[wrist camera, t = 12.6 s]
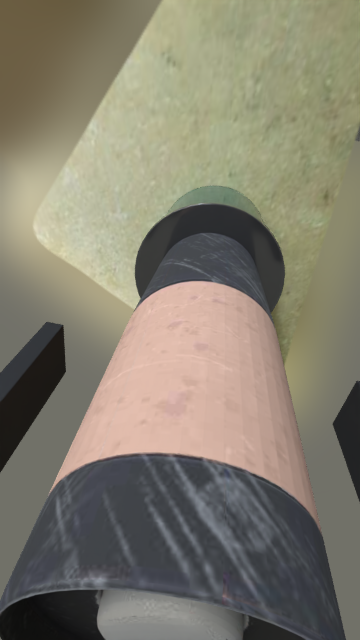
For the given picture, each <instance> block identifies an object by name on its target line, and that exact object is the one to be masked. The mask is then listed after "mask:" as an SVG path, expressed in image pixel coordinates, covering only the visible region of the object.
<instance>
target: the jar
mask: <svg viewBox="0 0 360 640" xmlns="http://www.w3.org/2000/svg"><path fill="white" fill-rule="evenodd" d="M200 233H216V234H221V235H224V236H227V237H230V238H232V239H233V240H235V241H237V242H238V243H240V244H241V245H242V246H243V247H244V248H245V249H246V250H247V251H248V252H249V254H250V255H251V257H252V259H253V260H254V263H255V265H256V268H257V271H258V274H259V277H260V280H261V283H262V286H263V290H264V293H265V296H266V299H267V303H268V306H269V309H270V312H272V311H273V309H274V308H275V306H276V304H277V303H278V300H279V298H280V296H281V293H282V289H283V285H284V278H285V267H284V261H283V256H282V253H281V250H280V247H279V245H278V243H277V241H276V239H275V237H274V235H273V234H272V233H271V231H270V230H269V229H268V227H267V226H266V225H265V224H264V223H263V220H262V218H261V215H260V213H259V211H258V210H257V208H256V207H255V205H254V204H253V203H252V202H251V201H250V200H249V199H248V198H247V197H246V196H244V195H243V194H241V193H240V192H238V191H236V190H233V189H231V188H227V187H223V186H205V187H200V188H197V189H194V190H192V191H190V192H188V193H186V194H185V195H183V196H182V197H181V198H179V199H178V200H177V201H176V202H175V203H174V204H173V206H172V207H171V208H170V210H169V211H168V213H167V215H165V216H164V217H163V218H161V219H160V220H159V221H158V222H157V223H156V224H155V225H154V226H153V227H152V228H151V230H150V231H149V232H148V234H147V235H146V237H145V238H144V240H143V242H142V244H141V246H140V248H139V251H138V254H137V258H136V264H135V280H136V286H137V290H138V293H139V296H140V298H142V296H143V294H144V292H145V290H146V289H147V287H148V285H149V283H150V281H151V280H152V278H153V276H154V274H155V272H156V271H157V269H158V267H159V265H160V263H161V262H162V260H163V258H164V257H165V255H166V254H167V253H168V251H169V250H170V249H171V248H172V247H173V246H174V245H175V244H176V243H178V242H179V241H181V240H182V239H184V238H187V237H189V236H192V235H195V234H200Z"/></svg>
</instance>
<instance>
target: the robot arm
mask: <svg viewBox="0 0 360 640" xmlns="http://www.w3.org/2000/svg"><path fill="white" fill-rule="evenodd" d="M64 348H65V347H64V329H63V325H60V324H55V323H50V322H46V323H45V324H44V325H43V327H42V328H41V329H40V330H39V331H38V332H37V333H36V334H35V335H34V336H33V338H32V339H31V340H30V341H29V342H28V343H27V344H26V345H25V346H24V347H23V349H22V350H21V351H20V352H19V353H18V354H17V355H16V356H15V357H14V358H13V360H12V361H11V362H10V363H9V364H8V365H7V366H6V367H5V368H4V369H3V371H2V372H1V373H0V472H1V471H2V469H3V468H4V466H5V465H6V463H7V461H8V460H9V458H10V457H11V455H12V454H13V452H14V450H15V449H16V448H17V446H18V445H19V443H20V441H21V440H22V438H23V436H24V435H25V434H26V432H27V431H28V429H29V427H30V426H31V425H32V423H33V421H34V420H35V418H36V417H37V415H38V414H39V412H40V411H41V409H42V408H43V406H44V405H45V403H46V402H47V400H48V398H49V397H50V395H51V393H52V392H53V391H54V389H55V388H56V386H57V385H58V383H59V382H60V380H61V378H62V377H63V375H64V374H65V372H66V368H65V367H66V366H65V349H64ZM333 426H334V429H335V432H336V435H337V438H338V440H339V443H340V446H341V449H342V452H343V455H344V458H345V461H346V464H347V467H348V470H349V472H350V475H351V478H352V481H353V484H354V487H355V490H356V493H357V496H358V498H359V501H360V381H356V383H355V385H354V387H353V389H352V390H351V392H350V394H349V396H348V397H347V399H346V401H345V403H344V405H343V406H342V408H341V410H340V412H339V413H338V415H337V417H336V419H335V421H334V422H333Z"/></svg>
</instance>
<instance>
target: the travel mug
mask: <svg viewBox="0 0 360 640" xmlns="http://www.w3.org/2000/svg"><path fill="white" fill-rule="evenodd" d="M0 637H1V639H2V640H346V638H345V634H344V630H343V625H342V621H341V616H340V612H339V608H338V603H337V598H336V594H335V590H334V585H333V581H332V576H331V572H330V568H329V563H328V559H327V554H326V550H325V545H324V541H323V537H322V532H321V528H320V523H319V519H318V514H317V510H316V505H315V501H314V497H313V492H312V488H311V483H310V479H309V474H308V470H307V466H306V461H305V457H304V452H303V448H302V443H301V439H300V435H299V430H298V426H297V421H296V417H295V412H294V408H293V404H292V399H291V395H290V391H289V386H288V381H287V377H286V373H285V368H284V364H283V359H282V355H281V350H280V346H279V341H278V337H277V333H276V329H275V326H274V322H273V319H272V316H271V312H270V309H269V306H268V303H267V299H266V296H265V293H264V290H263V286H262V283H261V280H260V277H259V274H258V271H257V268H256V265H255V263H254V260H253V259H252V257H251V255H250V254H249V252H248V251H247V250H246V249H245V248H244V247H243V246H242V245H241V244H240V243H238V242H237V241H235V240H233V239H232V238H230V237H227V236H224V235H221V234H216V233H200V234H195V235H192V236H189V237H187V238H184V239H182V240H181V241H179V242H178V243H176V244H175V245H174V246H173V247H172V248H171V249H170V250H169V251H168V253H167V254H166V255H165V257H164V258H163V260H162V262H161V263H160V265H159V267H158V269H157V271H156V272H155V274H154V276H153V278H152V280H151V281H150V283H149V285H148V287H147V289H146V290H145V292H144V294H143V296H142V298H141V299H140V301H139V303H138V305H137V307H136V308H135V310H134V312H133V314H132V316H131V318H130V320H129V322H128V324H127V326H126V328H125V331H124V333H123V335H122V337H121V340H120V341H119V344H118V346H117V348H116V350H115V352H114V354H113V357H112V359H111V361H110V363H109V365H108V367H107V370H106V372H105V374H104V376H103V378H102V380H101V383H100V385H99V387H98V389H97V391H96V393H95V395H94V398H93V400H92V402H91V404H90V406H89V408H88V411H87V413H86V415H85V417H84V419H83V421H82V424H81V426H80V428H79V430H78V432H77V435H76V437H75V439H74V441H73V443H72V445H71V447H70V450H69V452H68V454H67V456H66V458H65V460H64V463H63V465H62V467H61V469H60V471H59V473H58V476H57V478H56V480H55V482H54V484H53V486H52V489H51V491H50V493H49V495H48V498H47V500H46V502H45V504H44V506H43V508H42V510H41V512H40V515H39V517H38V519H37V521H36V523H35V525H34V527H33V530H32V532H31V534H30V536H29V538H28V540H27V542H26V545H25V547H24V549H23V551H22V553H21V555H20V558H19V560H18V562H17V564H16V566H15V568H14V571H13V573H12V575H11V577H10V579H9V582H8V584H7V586H6V588H5V590H4V593H3V595H2V598H1V600H0Z"/></svg>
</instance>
